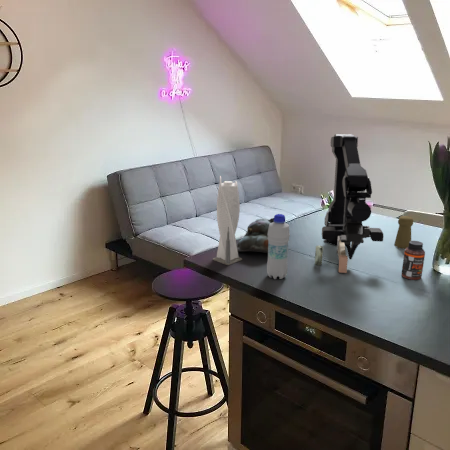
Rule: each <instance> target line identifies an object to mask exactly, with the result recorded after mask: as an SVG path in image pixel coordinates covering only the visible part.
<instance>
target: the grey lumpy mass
mask: <svg viewBox="0 0 450 450" xmlns="http://www.w3.org/2000/svg"><path fill="white" fill-rule="evenodd" d="M273 222H274V217H272V218H270V219H267V218H259V219H255V220H254V221H252V222H251V223H249V224H248V226H247V230H246V232H245V234H244V236H243V237H242V238H241V239H240V240H239V241H238V242H237V243H236V244H237V250H238V253H239V252H256V253H264V254H268V242H269V241H268V235H267V234H268V229H269V224H270V223H273Z"/></svg>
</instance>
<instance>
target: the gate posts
mask: <svg viewBox="0 0 450 450" xmlns="http://www.w3.org/2000/svg"><path fill="white" fill-rule="evenodd" d="M339 240H340V236H338V241H337V246H336V254H337V255H338V248H339ZM323 256H324V246H323V245H316V246H315V256H314V265H315V266H322V265H323Z"/></svg>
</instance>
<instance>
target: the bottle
mask: <svg viewBox="0 0 450 450" xmlns="http://www.w3.org/2000/svg"><path fill="white" fill-rule="evenodd" d="M273 218H274V222H273V223H270V224H269V229H268V234H267V235H268V241H269V242H268V253H267V263H266V272H267V276H268V277H269V278H270V279H272V278H273V279H274V280H277V277H278V278H279V280H283V278H286V276H287V274H288V251H289V241H290V237H291V234H290V225H289V224H288V223H286V216H285V214H282V213H276V214H275V215H274V216H273Z"/></svg>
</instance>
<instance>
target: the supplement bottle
mask: <svg viewBox="0 0 450 450" xmlns="http://www.w3.org/2000/svg"><path fill="white" fill-rule="evenodd" d="M423 245H424V243H423V242H421V241H420V240H419V241H418V240H411V241H410V242H409V246H408V247H407V248H406V249H404V252H403V261H402V268H401V276H402V277H403V278H405V279H407V280H410V281H418V280H420V279H422V276H423V272H424V263H425V255H426V251H425V250H424V248H423V247H424V246H423Z"/></svg>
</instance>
